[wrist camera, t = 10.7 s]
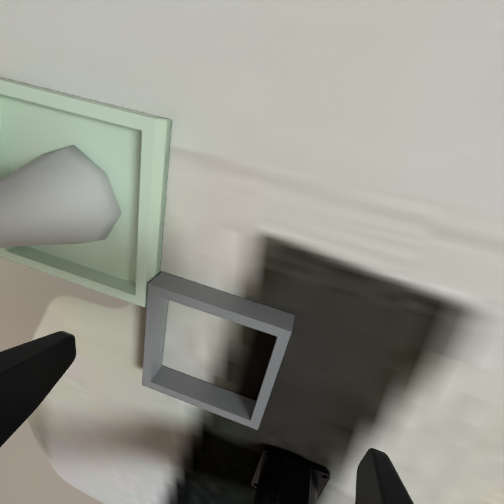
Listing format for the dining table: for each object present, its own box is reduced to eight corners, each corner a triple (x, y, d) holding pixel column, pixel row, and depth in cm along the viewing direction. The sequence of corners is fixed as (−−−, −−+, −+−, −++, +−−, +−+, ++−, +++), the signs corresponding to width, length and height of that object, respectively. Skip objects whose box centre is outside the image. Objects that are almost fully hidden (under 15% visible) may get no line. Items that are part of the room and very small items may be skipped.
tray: (158, 294, 25) (144, 307, 23) (21, 247, 26) (-2, 256, 25) (172, 119, 19) (155, 119, 17) (-6, 75, 21) (-38, 70, 19)
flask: (21, 177, 23) (-181, 211, 14) (76, 124, 20) (-133, 124, 11) (80, 255, 24) (-67, 331, 15) (139, 217, 21) (1, 283, 12)
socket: (262, 410, 27) (257, 430, 25) (153, 368, 28) (141, 384, 27) (294, 315, 22) (291, 331, 20) (162, 271, 24) (148, 283, 22)
